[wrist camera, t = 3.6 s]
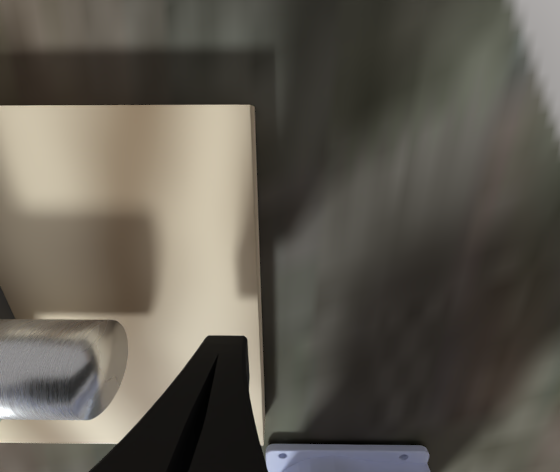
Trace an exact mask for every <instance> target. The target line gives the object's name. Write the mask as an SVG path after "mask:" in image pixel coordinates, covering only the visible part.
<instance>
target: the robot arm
mask: <svg viewBox="0 0 560 472" xmlns="http://www.w3.org/2000/svg"><path fill="white" fill-rule="evenodd" d="M249 380H250V374H249V357H248V340H247V338H246V337H245V336H231V335H208V336H207V337H206V338H205V339H204V341H203V342H202V343H201V345H200V346H199V348H198V349H197V350H196V352H195V353H194V355H193V356H192V357H191V359H190V360H189V361H188V363H187V364H186V365H185V367H184V368H183V369H182V371H181V372H180V373H179V374H178V376H177V377H176V378H175V379H174V381H173V382H172V383H171V384H170V386H169V387H168V388H167V389H166V391H165V392H164V393H163V394H162V395H161V397H160V398H159V399H158V400H157V401H156V402H155V403H154V405H153V406H152V407H151V408H150V409H149V410H148V411H147V413H146V414H145V415H144V416H143V417H142V418H141V419H140V421H139V422H138V423H137V424H136V425H135V426H134V427H133V428H132V429H131V430H130V431H129V432H128V433H127V434H126V436H125V437H124V438H123V439H122V440H121V441H120V442H119V443H118V444H117V445H116V446H115V447H114V448H113V449H112V450H111V451H110V452H109V453H108V454H107V455H106V456H105V457H104V458H103V459H102V460H101V461H100V462H99V463H98V464H96V465H95V466H94V467H93V468H92V469H91V470H90V471H89V472H431V471H430V469H429V466H428V464H427V462H428V459H429V453H428V450H427V448H426V447H424V446H422V445H354V444H270V445H268V446H267V448H266V463H265V460H264V456H263V452H262V449H261V445H260V441H259V437H258V433H257V429H256V425H255V420H254V415H253V411H252V406H251V400H250V395H249Z"/></svg>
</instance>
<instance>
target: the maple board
mask: <svg viewBox="0 0 560 472" xmlns="http://www.w3.org/2000/svg"><path fill="white" fill-rule="evenodd" d="M0 286H1V289H2V291H3V293H4V295H5V297H6V299H7V302H8V304H9V306H10V308H11V310H12V313H13V315H14V317H15V319H70V320H116V321H118V322H119V323H120V324H121V325H122V326H123V327H124V329H125V332H126V334H127V339H128V359H127V365H126V369H125V373H124V376H123V379H122V382H121V384H120V387H119V389H118V391H117V393H116V395H115V397H114V398H113V400H112V401H111V403H110V404H109V406H108V407H107V408H106V409H105V410H104V411H103V412H102V413H101V414H100V415H98V416H97V417H95V418H93V419H91V420H8V419H2V420H1V421H0V443H86V444H118V443H119V442H120V441H121V440H122V439H123V438H124V437H125V436H126V434H127V433H128V432H129V431H130V430H131V429H132V428H133V427H134V426H135V425H136V424H137V423H138V422H139V421H140V419H141V418H142V417H143V416H144V415H145V414H146V413H147V411H148V410H149V409H150V408H151V407H152V406H153V405H154V403H155V402H156V401H157V400H158V399H159V398H160V397H161V395H162V394H163V393H164V392H165V391H166V389H167V388H168V387H169V386H170V384H171V383H172V382H173V381H174V379H175V378H176V377H177V376H178V374H179V373H180V372H181V371H182V369H183V368H184V367H185V365H186V364H187V363H188V361H189V360H190V359H191V357H192V356H193V355H194V353H195V352H196V350H197V349H198V348H199V346H200V345H201V343H202V342H203V341H204V339H205V338H206V337H207V336H208V335H231V336H245V337H246V338H247V340H248V357H249V374H250V380H249V395H250V400H251V406H252V411H253V415H254V420H255V425H256V429H257V433H258V437H259V441H260V445H264V430H265V394H264V365H263V336H262V307H261V278H260V249H259V220H258V191H257V162H256V133H255V107H254V106H252V105H29V106H0Z"/></svg>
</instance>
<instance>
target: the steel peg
mask: <svg viewBox="0 0 560 472" xmlns="http://www.w3.org/2000/svg"><path fill="white" fill-rule="evenodd" d="M127 359H128V339H127V334H126V332H125V329H124V327H123V326H122V325H121V324H120V323H119V322H118V321H116V320H70V319H0V419H8V420H91V419H93V418H95V417H97V416H98V415H100V414H101V413H102V412H103V411H104V410H105V409H106V408H107V407H108V406H109V404H110V403H111V401H112V400H113V398H114V397H115V395H116V393H117V391H118V389H119V387H120V384H121V382H122V379H123V376H124V373H125V369H126V365H127Z"/></svg>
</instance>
